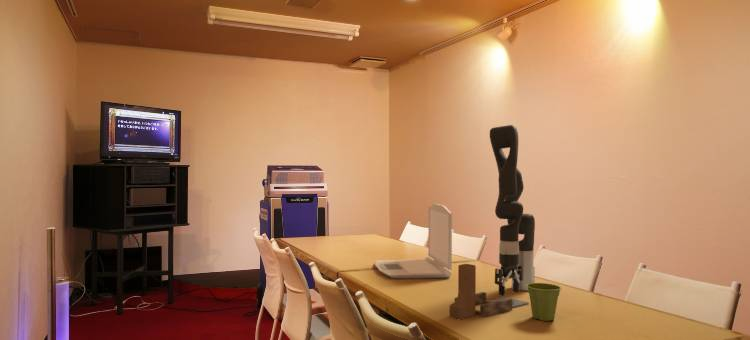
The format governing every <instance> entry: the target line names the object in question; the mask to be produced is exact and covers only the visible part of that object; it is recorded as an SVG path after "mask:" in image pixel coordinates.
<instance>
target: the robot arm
mask: <svg viewBox="0 0 750 340" xmlns="http://www.w3.org/2000/svg"><path fill="white" fill-rule="evenodd" d="M518 132H519V131H518V129H517V127H516V126H515V125H513V124H509V125H502V126H495V127H492V128H490V130H489V140H490V141H489V142H490V145H491V148H492V151H493V155H494V158H495V162H496V166H497V171H498V197H497V202H496V205H495V208H494V209H495V210H494V211H495V216H496V217H497V218H498V219H500V220H506V221H507V224H503V225H502V226H500V228H499V245H498V259H499V260H498V263H499V264H500V265H501V266H500V268H495V269H494V270H495V271H494V285H497V286H498V294H499V296H502V297H505V295H506V286H505V285H506V283H507V282H509V279H511V289H512V291H513V293H519V292H520V291H522V292H526V291H528V287H527V286H526V284H529V283H536V282H535V266H534V245H535V229H536V221H535V217H534V215H533V214H531V213H524V206H523V204H522V203H521V201H519V199H520V198H521V196H522V193H523V192H524V188H525V187H524V181H523V176H522V173H521V171H520V170H519V168H518V167H517V166H518V156H519V155H518V153H519V133H518ZM508 148H509V153H508V155H507V156H506V155H505V153H504V151H503V149H508ZM519 235H523V238H522V239H519Z"/></svg>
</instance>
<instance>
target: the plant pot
mask: <svg viewBox="0 0 750 340" xmlns="http://www.w3.org/2000/svg"><path fill="white" fill-rule="evenodd" d="M526 286H527V287H528V295H529V301H530V302H529V303H530V307H531V315H532V318H534V319H535V320H536V319H537V320H539V321H544V322H545V321H547V322H549V321H553V320H555V317H556V309H557V304H558V300H559V299H558V298H559V296H560V292H561V290H562V286H559V285H557V284H551V283H546V282H535V283H529V284H526Z"/></svg>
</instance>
